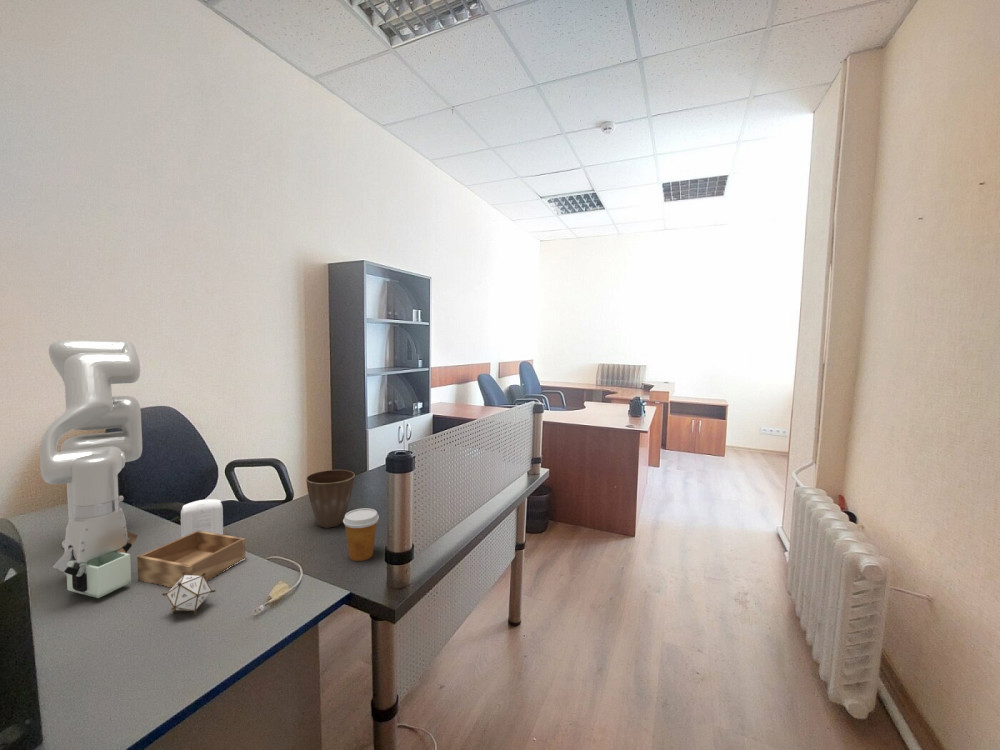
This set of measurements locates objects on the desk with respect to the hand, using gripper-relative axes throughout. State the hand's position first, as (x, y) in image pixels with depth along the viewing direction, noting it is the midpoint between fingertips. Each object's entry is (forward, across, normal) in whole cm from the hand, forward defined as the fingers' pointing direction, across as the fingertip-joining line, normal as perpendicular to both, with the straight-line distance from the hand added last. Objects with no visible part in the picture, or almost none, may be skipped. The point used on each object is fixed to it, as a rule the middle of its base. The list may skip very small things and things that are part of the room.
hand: (99, 581), depth 98 cm
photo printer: (+3, -27, -2) cm, 27 cm away
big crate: (+2, -14, +12) cm, 18 cm away
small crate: (+1, 0, 0) cm, 1 cm away
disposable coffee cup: (+2, -33, +48) cm, 59 cm away
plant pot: (+3, -49, +26) cm, 56 cm away
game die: (+2, -1, +26) cm, 27 cm away
